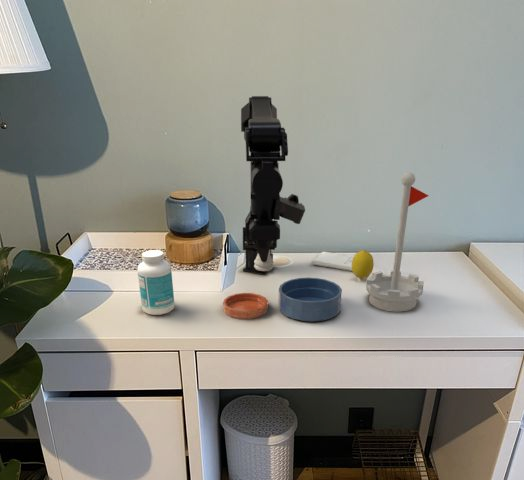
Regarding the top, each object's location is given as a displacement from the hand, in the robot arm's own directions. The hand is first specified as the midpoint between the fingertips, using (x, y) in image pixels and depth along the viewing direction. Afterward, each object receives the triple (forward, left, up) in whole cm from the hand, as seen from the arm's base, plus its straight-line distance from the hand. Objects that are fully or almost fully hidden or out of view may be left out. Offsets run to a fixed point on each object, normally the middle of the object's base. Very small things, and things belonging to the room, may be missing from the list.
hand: (264, 258), depth 122 cm
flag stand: (+25, +18, -13) cm, 33 cm away
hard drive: (+5, +36, -13) cm, 39 cm away
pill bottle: (-22, -11, -13) cm, 27 cm away
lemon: (+14, +28, -13) cm, 34 cm away
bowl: (+9, +5, -12) cm, 16 cm away
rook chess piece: (0, 0, -2) cm, 2 cm away
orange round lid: (-4, -2, -12) cm, 13 cm away
